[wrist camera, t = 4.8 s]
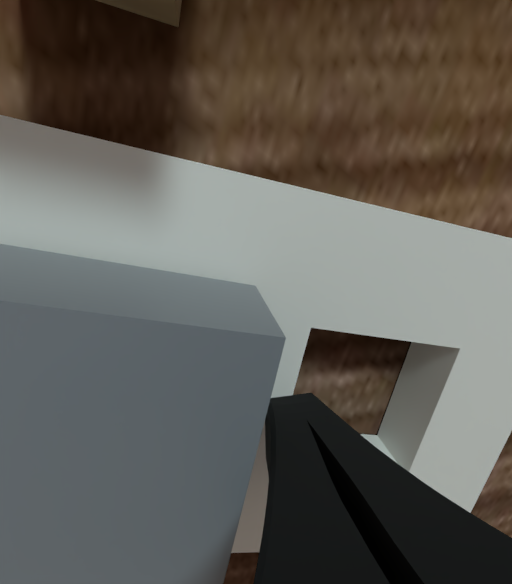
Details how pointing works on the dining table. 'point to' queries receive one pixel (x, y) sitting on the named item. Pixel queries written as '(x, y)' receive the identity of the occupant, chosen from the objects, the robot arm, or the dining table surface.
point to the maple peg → (151, 9)
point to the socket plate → (295, 283)
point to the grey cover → (126, 419)
